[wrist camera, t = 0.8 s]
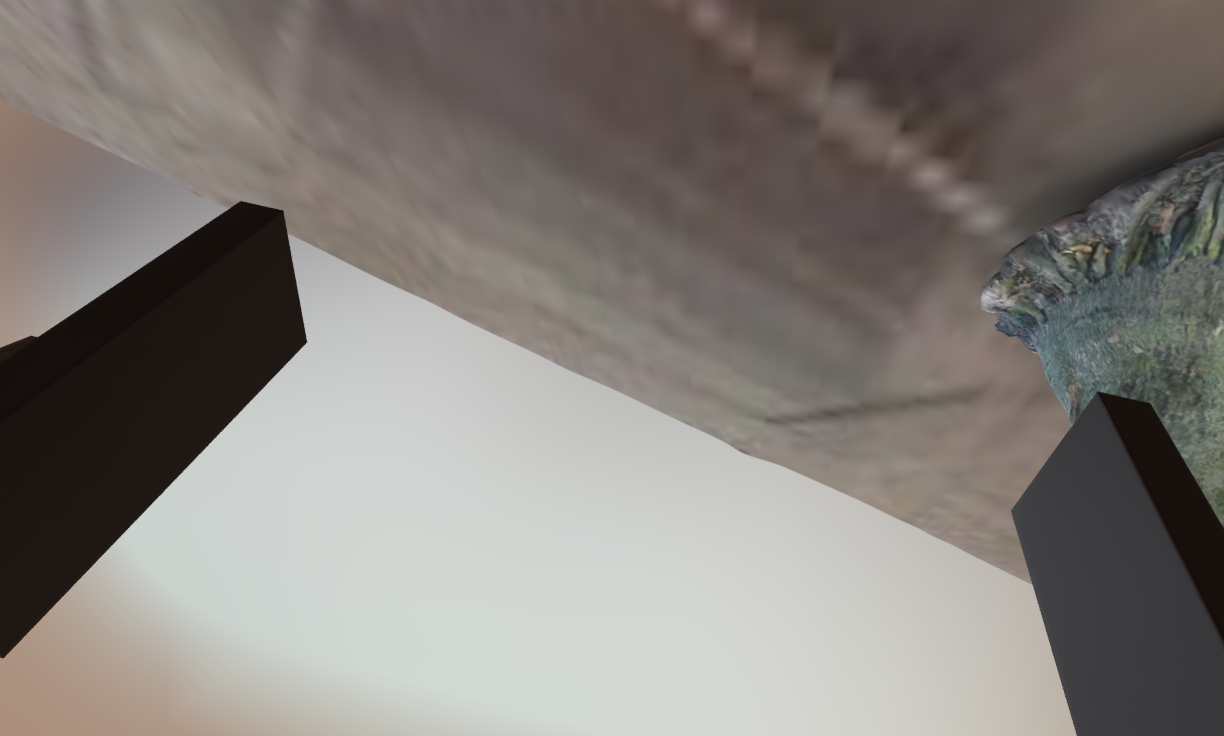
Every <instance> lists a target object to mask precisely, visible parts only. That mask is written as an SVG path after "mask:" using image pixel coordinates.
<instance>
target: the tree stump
mask: <svg viewBox="0 0 1224 736" xmlns="http://www.w3.org/2000/svg"><path fill="white" fill-rule="evenodd" d="M1004 257H1007V259H1008V260H1007V261H1005V262H1004V263H1003V264H1002V266H1001V267H1000V271H999V272H998V273H996V274H995V275H994V276H993V277H992V278H991V279H990V281H989V282H988V283H987V284H986V285H985V286H984V287H983V290H982V298H981V305H980V307H981V308H982V310H984V311H987V312H991V313H994V314H998V315H999V318H998V320H999V322H998V323H997V324H996V325H995V326H996V330H997V331H1000V332H1002V333H1004V334H1005V335H1007V336H1009V337H1017V338H1019V339H1020V340H1021V341H1022V343H1023V344H1024V345H1025V346H1026V347H1027V348H1029V349H1030V350H1031V351H1032V352H1033V353H1035V354H1038V355H1039V356H1040V358H1041V362H1042V365H1043V370H1044V373H1045V376H1046V379H1047V381H1048V383H1049V384H1050V386H1051V388H1052V390H1053V391H1054V393H1055V394H1056V396H1057V398H1058V399H1059V401H1060V402H1061V404H1062V405H1063V407H1064V408H1065V410H1066V412H1067V414H1068V415H1069V430H1070V428H1071V427H1072V426H1073V424H1074V423H1075V421H1076V420H1077V419H1078V417H1079V416H1080V414H1081V413H1082V412H1083V410H1084V409H1085V407H1086V406H1087V405H1088V403H1089V402H1090V401H1091V399H1092V398H1093V396H1094V395H1095V394H1096V392H1097V391H1099V392H1103V393H1108V394H1112V395H1117V396H1121V397H1126V398H1130V399H1135V400H1139V401H1144V402H1148V403H1151V405H1152V407H1153V408H1154V410H1155V412H1156V413H1157V415H1158V417H1159V418H1160V420H1161V422H1162V424H1163V425H1164V427H1165V429H1166V430H1167V432H1168V434H1169V435H1170V437H1171V439H1172V441H1173V442H1174V444H1175V446H1176V447H1177V449H1178V451H1179V453H1180V454H1181V456H1182V458H1183V459H1184V461H1185V463H1186V464H1187V466H1188V468H1189V470H1190V471H1191V473H1192V475H1193V476H1194V478H1195V480H1196V482H1197V483H1198V485H1199V487H1200V488H1201V490H1202V492H1203V493H1204V495H1205V497H1206V499H1207V500H1208V502H1209V504H1210V505H1211V507H1212V509H1213V510H1214V512H1215V514H1216V516H1217V517H1218V519H1219V521H1220V522H1221V524H1222V526H1223V528H1224V137H1222V138H1219V139H1216V140H1214V141H1211V142H1209V143H1206V144H1204V145H1201V146H1198V147H1196V148H1193V149H1191V150H1190V151H1188V152H1186V153H1185V154H1183V155H1181V156H1180V157H1178V158H1176V159H1175V160H1172V161H1170V162H1168V163H1166V164H1164V165H1162V166H1159V167H1157V168H1155V169H1153V170H1151V171H1149V172H1146V173H1144V174H1142V175H1140V176H1138V177H1136V178H1134V179H1131V180H1129V181H1127V182H1125V183H1123V184H1121V185H1119V186H1117V187H1116V188H1114V189H1113V190H1111V191H1110V192H1108V193H1106V194H1105V195H1103V196H1102V197H1100V198H1099V199H1097V200H1096V201H1094V202H1093V203H1091V204H1090V205H1088V206H1087V207H1085V208H1084V209H1083V210H1080V211H1077V212H1074V213H1071V214H1069V215H1066V216H1063V217H1060V218H1057V219H1055V220H1053V221H1051V222H1050V223H1048V224H1046V225H1045V226H1044V227H1043V228H1042V229H1040V230H1039V231H1038V232H1036V233H1035V234H1033V235H1032V236H1030V237H1029V238H1028V239H1026V240H1025V241H1024V242H1022V243H1021V244H1019V245H1017V246H1016V247H1014V248H1013V249H1011V250H1010V252H1009V253H1008V254H1006V255H1005V256H1004Z"/></svg>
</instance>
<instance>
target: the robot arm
mask: <svg viewBox="0 0 1224 736" xmlns="http://www.w3.org/2000/svg"><path fill="white" fill-rule="evenodd" d="M306 343H307V339H306V334H305V328H304V323H303V317H302V312H301V306H300V300H299V295H298V290H297V284H296V278H295V273H294V268H293V262H292V257H291V251H290V245H289V240H288V234H287V229H286V223H285V218H284V212H283V210H278V209H274V208H269V207H265V206H260V205H256V204H251V203H247V202H242V201H240V202H239V203H237V204H236V205H234V206H233V207H231V208H230V209H228V210H227V211H225V212H224V213H223V214H221V215H219V216H218V217H216V218H215V219H213V220H212V221H211V222H209V223H208V224H206V225H205V226H203V227H202V228H200V229H199V230H197V231H196V232H194V233H193V234H191V235H190V236H188V237H187V238H185V239H184V240H183V241H181V242H179V243H178V244H176V245H175V246H173V247H172V248H170V249H169V250H167V251H166V252H164V253H163V254H161V255H160V256H158V257H157V258H155V259H154V260H152V261H151V262H149V263H148V264H146V265H145V266H143V267H142V268H140V269H139V270H137V271H136V272H134V273H133V274H132V275H130V276H129V277H127V278H126V279H124V280H123V281H121V282H120V283H118V284H117V285H115V286H114V287H112V288H111V289H109V290H108V291H106V292H105V293H103V294H102V295H100V296H99V297H98V298H96V299H94V300H93V301H91V302H90V303H88V304H87V305H85V306H84V307H82V308H81V309H79V310H78V311H76V312H75V313H74V314H72V315H70V316H69V317H67V318H66V319H64V320H63V321H62V322H60V323H58V324H57V325H56V326H54V327H53V328H51V329H50V330H48V331H47V332H45V333H44V334H42V335H41V336H39V337H34V336H29V337H27V338H24V339H22V340H19V341H16V342H14V343H11V344H9V345H6V346H4V347H1V348H0V658H4V657H5V656H6V655H7V654H8V653H9V652H10V651H11V650H12V649H13V648H14V647H15V646H16V645H17V644H18V643H19V642H20V641H21V640H22V638H23V637H24V636H25V635H26V634H27V633H28V632H29V631H30V630H31V629H32V628H33V627H34V626H35V625H36V624H37V623H38V622H39V621H40V620H41V619H42V618H43V616H45V615H46V614H47V612H48V611H49V610H50V609H51V608H52V607H53V606H54V605H55V604H56V603H57V602H58V601H59V600H60V599H61V598H62V597H63V596H64V595H65V594H66V593H67V592H68V591H69V590H70V589H71V587H72V586H73V585H74V584H75V583H76V582H77V581H78V580H79V579H80V578H81V577H82V576H83V575H84V574H85V573H86V572H87V571H88V570H89V569H90V568H91V567H92V565H94V564H95V563H96V561H97V560H98V559H99V558H100V557H101V556H102V555H103V554H104V553H105V552H106V551H107V550H108V549H109V548H110V547H111V546H112V545H113V544H114V543H115V542H116V541H117V540H118V539H119V537H120V536H121V535H122V534H123V533H124V532H125V531H126V530H127V529H128V528H129V527H130V526H131V525H132V524H133V523H134V522H135V521H136V520H137V519H138V518H139V516H141V515H142V514H143V513H144V512H145V510H146V509H147V508H148V507H149V506H150V505H151V504H152V503H153V502H154V501H155V500H156V499H157V498H158V497H159V496H160V495H161V494H162V493H163V492H164V491H165V489H166V488H167V487H169V485H170V484H171V483H172V482H173V481H174V480H175V479H176V478H177V477H178V476H179V475H180V474H181V473H182V472H183V471H184V470H185V469H186V468H187V467H188V466H189V465H190V464H191V463H192V462H193V461H194V459H195V458H196V457H197V456H198V455H199V454H200V453H201V452H202V451H203V450H204V449H205V448H206V447H207V446H208V445H209V444H210V443H211V442H212V441H213V440H214V438H216V436H217V435H218V434H219V433H220V432H221V431H222V430H223V429H224V428H225V427H226V426H227V425H228V424H229V423H230V422H231V421H232V420H233V419H234V418H235V417H236V416H237V415H238V414H239V412H241V411H242V409H243V408H244V407H245V406H246V405H247V404H248V403H249V402H250V401H251V400H252V399H253V398H254V397H255V396H256V395H257V394H258V393H259V392H260V391H261V390H262V389H263V388H264V387H265V386H266V385H267V383H268V382H269V381H270V380H271V379H272V378H273V377H274V376H275V375H276V374H277V373H278V372H279V371H280V370H281V369H282V368H283V367H284V366H285V365H286V364H287V363H288V361H290V360H291V358H292V357H293V356H294V355H295V354H296V353H297V352H298V351H299V350H300V349H301V348H302V347H303V346H304V345H305V344H306ZM1011 512H1012V516H1013V519H1014V523H1015V526H1016V529H1017V533H1018V536H1019V540H1020V543H1021V546H1022V550H1023V553H1024V557H1025V560H1026V564H1027V567H1028V570H1029V574H1030V577H1031V581H1032V584H1033V587H1034V591H1035V594H1036V598H1037V601H1038V604H1039V608H1040V611H1041V615H1042V618H1043V622H1044V625H1045V628H1046V632H1047V635H1048V638H1049V642H1050V645H1051V649H1052V652H1053V655H1054V659H1055V662H1056V666H1057V669H1058V673H1059V676H1060V679H1061V683H1062V686H1063V690H1064V693H1065V697H1066V700H1067V703H1068V706H1069V710H1070V714H1071V717H1072V720H1073V724H1074V727H1075V730H1076V734H1077V736H1224V528H1223V526H1222V524H1221V522H1220V521H1219V519H1218V517H1217V516H1216V514H1215V512H1214V510H1213V509H1212V507H1211V505H1210V504H1209V502H1208V500H1207V499H1206V497H1205V495H1204V493H1203V492H1202V490H1201V488H1200V487H1199V485H1198V483H1197V482H1196V480H1195V478H1194V476H1193V475H1192V473H1191V471H1190V470H1189V468H1188V466H1187V464H1186V463H1185V461H1184V459H1183V458H1182V456H1181V454H1180V453H1179V451H1178V449H1177V447H1176V446H1175V444H1174V442H1173V441H1172V439H1171V437H1170V435H1169V434H1168V432H1167V430H1166V429H1165V427H1164V425H1163V424H1162V422H1161V420H1160V418H1159V417H1158V415H1157V413H1156V412H1155V410H1154V408H1153V407H1152V405H1151V403H1148V402H1144V401H1139V400H1135V399H1130V398H1126V397H1121V396H1117V395H1112V394H1108V393H1103V392H1099V391H1097V392H1096V394H1095V395H1094V396H1093V398H1092V399H1091V401H1090V402H1089V403H1088V405H1087V406H1086V407H1085V409H1084V410H1083V412H1082V413H1081V414H1080V416H1079V417H1078V419H1077V420H1076V421H1075V423H1074V424H1073V426H1072V427H1071V428H1070V430H1069V431H1068V432H1067V434H1066V435H1065V437H1064V438H1063V439H1062V441H1061V442H1060V444H1059V445H1058V446H1057V448H1056V449H1055V451H1054V452H1053V453H1052V455H1051V456H1050V457H1049V459H1048V460H1047V462H1046V463H1045V464H1044V466H1043V467H1042V469H1041V470H1040V471H1039V473H1038V474H1037V476H1036V477H1035V478H1034V480H1033V481H1032V482H1031V484H1030V485H1029V487H1028V488H1027V489H1026V491H1025V492H1024V494H1023V495H1022V496H1021V498H1020V499H1019V501H1018V502H1017V503H1016V505H1015V506H1014V507H1013V509H1012V510H1011Z"/></svg>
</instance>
